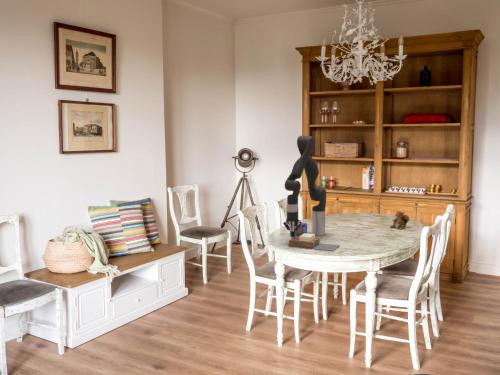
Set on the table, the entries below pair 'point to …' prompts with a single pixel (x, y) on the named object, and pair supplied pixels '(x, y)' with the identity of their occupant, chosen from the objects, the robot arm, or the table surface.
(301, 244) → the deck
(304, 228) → the ink cartridge box
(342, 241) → the table surface
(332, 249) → the mat
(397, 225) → the stuffed squirrel
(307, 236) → the cream rectangular block
